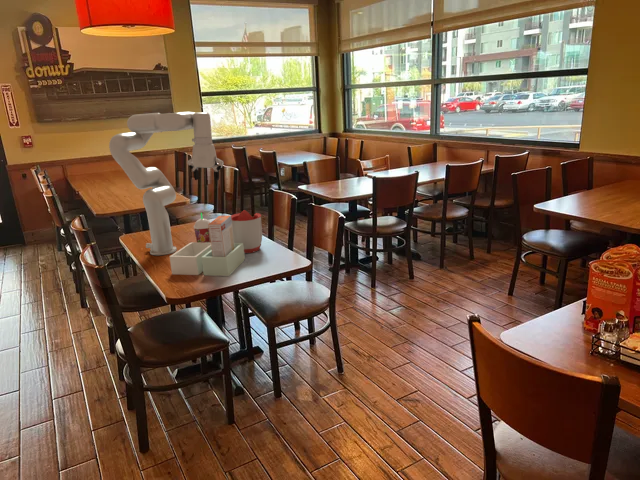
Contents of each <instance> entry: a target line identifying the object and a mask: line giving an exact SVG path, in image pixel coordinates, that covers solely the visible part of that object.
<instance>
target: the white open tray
mask: <svg viewBox="0 0 640 480" xmlns="http://www.w3.org/2000/svg"><path fill="white" fill-rule="evenodd" d="M210 250H212V248H211V243H202V242H197V241H196V242H191V241H190V242H189V243H188V244H186V245H185V246H183V247H182V248H180V249H179V250H176V251H175V252H173V253H171V255H169V256H168V257H169V263H170V269H171V275H183V276H184V275H185V276H187V275H188V276H199V275H200V274H201V273H202V272H203V265H202V256H204V255H205V254H206V253H208V252H209V251H210Z"/></svg>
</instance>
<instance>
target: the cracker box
mask: <svg viewBox="0 0 640 480" xmlns="http://www.w3.org/2000/svg"><path fill="white" fill-rule="evenodd" d="M208 225H209V233H210V240H211V248H212V255H213V257H226V256H227V255H228V254H229V253H230V252H231V251H233V250H234V249H235V246H234V237H233V228H232V220H231V215H230V214H229V215H219V216H217V217H216V218H215V219H213V220H212V221H210V223H209V224H208Z"/></svg>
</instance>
